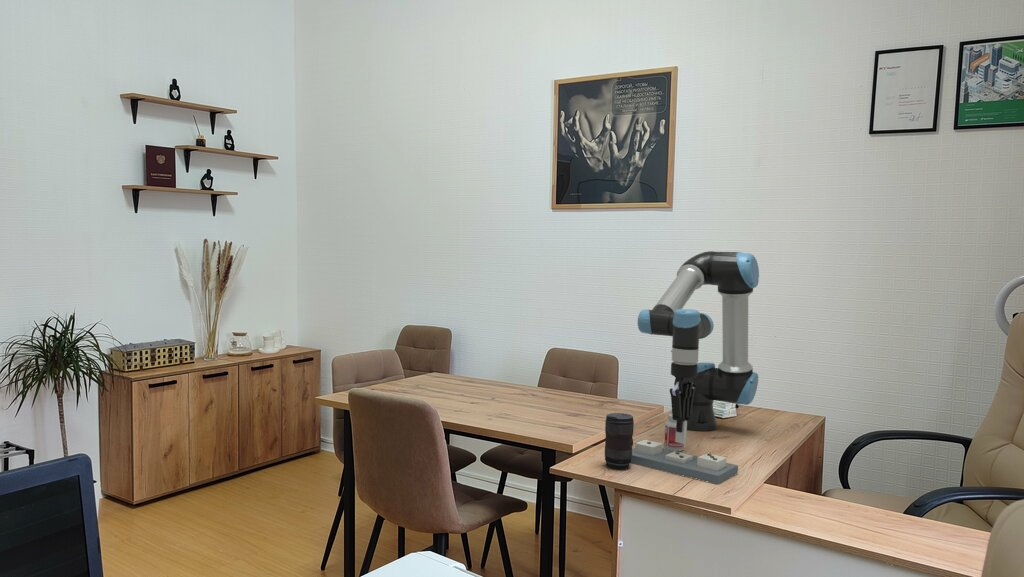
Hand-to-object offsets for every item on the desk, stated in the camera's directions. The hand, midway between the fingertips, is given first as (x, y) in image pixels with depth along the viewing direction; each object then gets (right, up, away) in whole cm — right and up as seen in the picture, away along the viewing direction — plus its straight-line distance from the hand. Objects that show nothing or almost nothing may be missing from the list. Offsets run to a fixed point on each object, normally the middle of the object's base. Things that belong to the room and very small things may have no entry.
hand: (680, 442), depth 212 cm
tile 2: (-1, -7, 0) cm, 7 cm away
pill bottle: (+2, -7, +20) cm, 21 cm away
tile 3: (+7, -6, -6) cm, 12 cm away
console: (-1, -7, 0) cm, 7 cm away
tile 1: (-8, -5, +6) cm, 11 cm away
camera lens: (-19, -7, -2) cm, 20 cm away
